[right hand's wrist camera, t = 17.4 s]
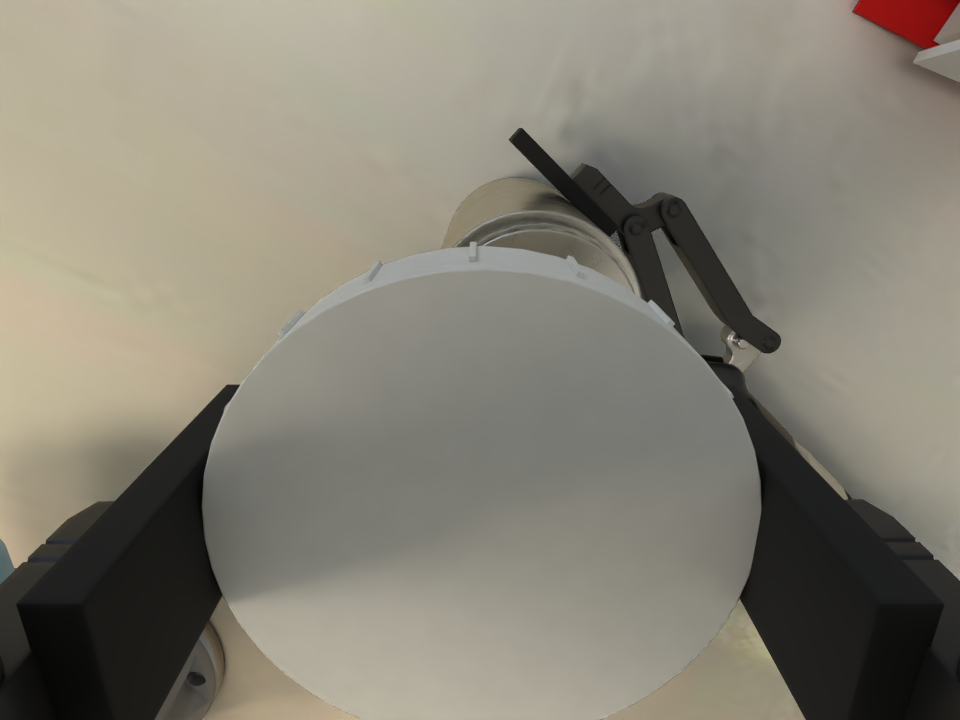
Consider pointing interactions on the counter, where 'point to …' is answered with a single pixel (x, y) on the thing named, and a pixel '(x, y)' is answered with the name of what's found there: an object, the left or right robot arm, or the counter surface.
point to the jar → (537, 227)
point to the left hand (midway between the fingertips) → (451, 204)
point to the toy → (922, 29)
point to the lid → (481, 493)
